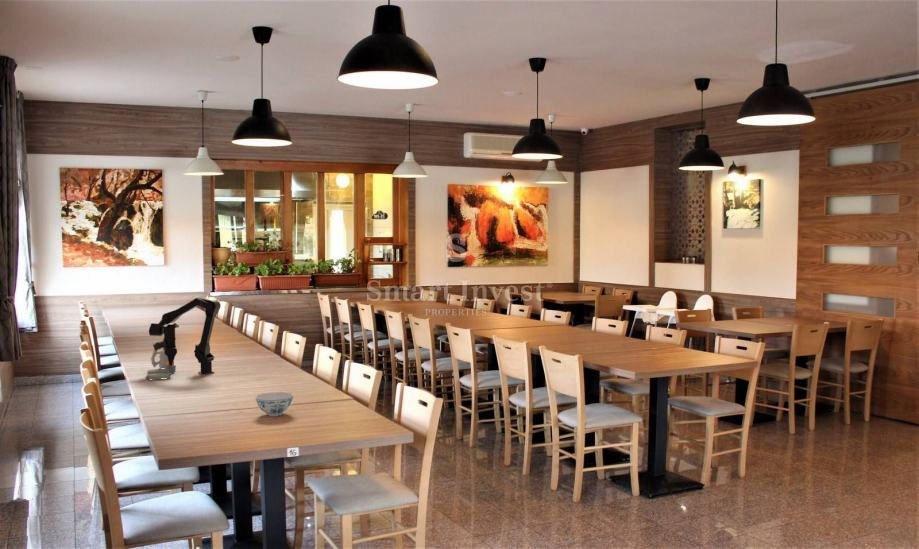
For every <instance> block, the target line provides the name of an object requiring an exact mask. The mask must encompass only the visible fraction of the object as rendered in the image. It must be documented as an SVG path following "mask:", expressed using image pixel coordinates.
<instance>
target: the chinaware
mask: <svg viewBox="0 0 919 549" xmlns="http://www.w3.org/2000/svg"><path fill="white" fill-rule="evenodd" d="M293 398H294V394H293V393H291V392H286V391H285V392H283V391H276V392H274V391H272V392H271V391H270V392H265V393H260V394H257V395H255V401H256V404H257V406H258V407H259V409H260V410H261V411H262V412H264V413H265V415H266V416H267V415H269V416H268V417H278V415H280V416H282V414H283V415H284V412H286V410H288V409H289V407H290V406H291V404H292V402H293Z"/></svg>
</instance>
